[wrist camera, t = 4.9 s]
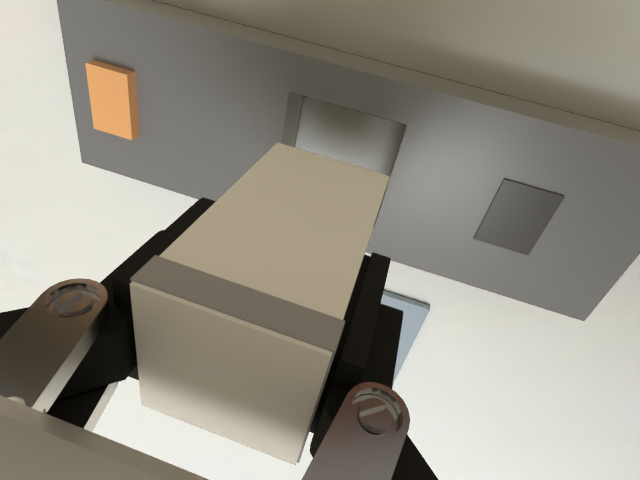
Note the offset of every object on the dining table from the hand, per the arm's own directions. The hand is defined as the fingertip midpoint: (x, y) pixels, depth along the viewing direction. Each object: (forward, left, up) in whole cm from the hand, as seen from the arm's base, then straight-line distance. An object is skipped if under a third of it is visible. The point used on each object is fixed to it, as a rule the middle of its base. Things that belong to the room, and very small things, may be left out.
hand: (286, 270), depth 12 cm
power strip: (0, 0, -10) cm, 10 cm away
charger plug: (0, 0, -4) cm, 4 cm away
